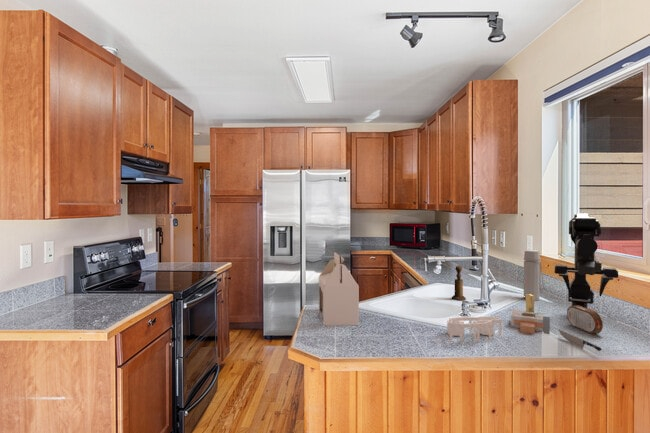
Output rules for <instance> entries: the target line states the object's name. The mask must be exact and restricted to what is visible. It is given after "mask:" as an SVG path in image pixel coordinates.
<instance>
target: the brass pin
mask: <svg viewBox="0 0 650 433" xmlns="http://www.w3.org/2000/svg"><path fill="white" fill-rule="evenodd" d="M525 312H532V313H535V301H534V295H533V294H526V299H525Z"/></svg>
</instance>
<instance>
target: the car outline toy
mask: <svg viewBox="0 0 650 433" xmlns="http://www.w3.org/2000/svg"><path fill="white" fill-rule="evenodd" d="M465 321H467V322H468V323H465ZM472 321H473V322H472ZM495 324H498V333H497V337H498V338H501V337H502V318H501V317H497V316H477V317H474V316H473V317H471V316H460V317H459V316H458V317H450V318H448V320H447V322H446V325H447V326H446V328H447V329H446V331H447V332H446V333H447V334H448V335H449V340H450V341H453V337H454V336H456V337H460V339H459V340H460V343H463V342H464V335H465V328H468V334H469V335H472V328H473V339H474V340H476V342H477V343H480V340H481V338H480V335H484V336H488V339H489V340H492V336H493V335H494V336H495Z"/></svg>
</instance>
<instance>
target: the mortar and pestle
mask: <svg viewBox="0 0 650 433" xmlns="http://www.w3.org/2000/svg"><path fill="white" fill-rule="evenodd" d="M462 270H463V267H462V266H461V265H456V266H455V271H456V273H457V274H456V275H455V276H456V278H455V279H454V294H453V296H451V300H454V301H459V302H462V301H463V302H465V301H467V298H466V297H465V296H464V280H463V279H462V274H461V272H462Z"/></svg>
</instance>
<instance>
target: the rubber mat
mask: <svg viewBox="0 0 650 433" xmlns="http://www.w3.org/2000/svg"><path fill="white" fill-rule="evenodd" d="M550 320H551V319H550V316H544V315H543V334H546V335H550V334H551V330H550V327H551V326H550V324H551V321H550Z"/></svg>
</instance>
